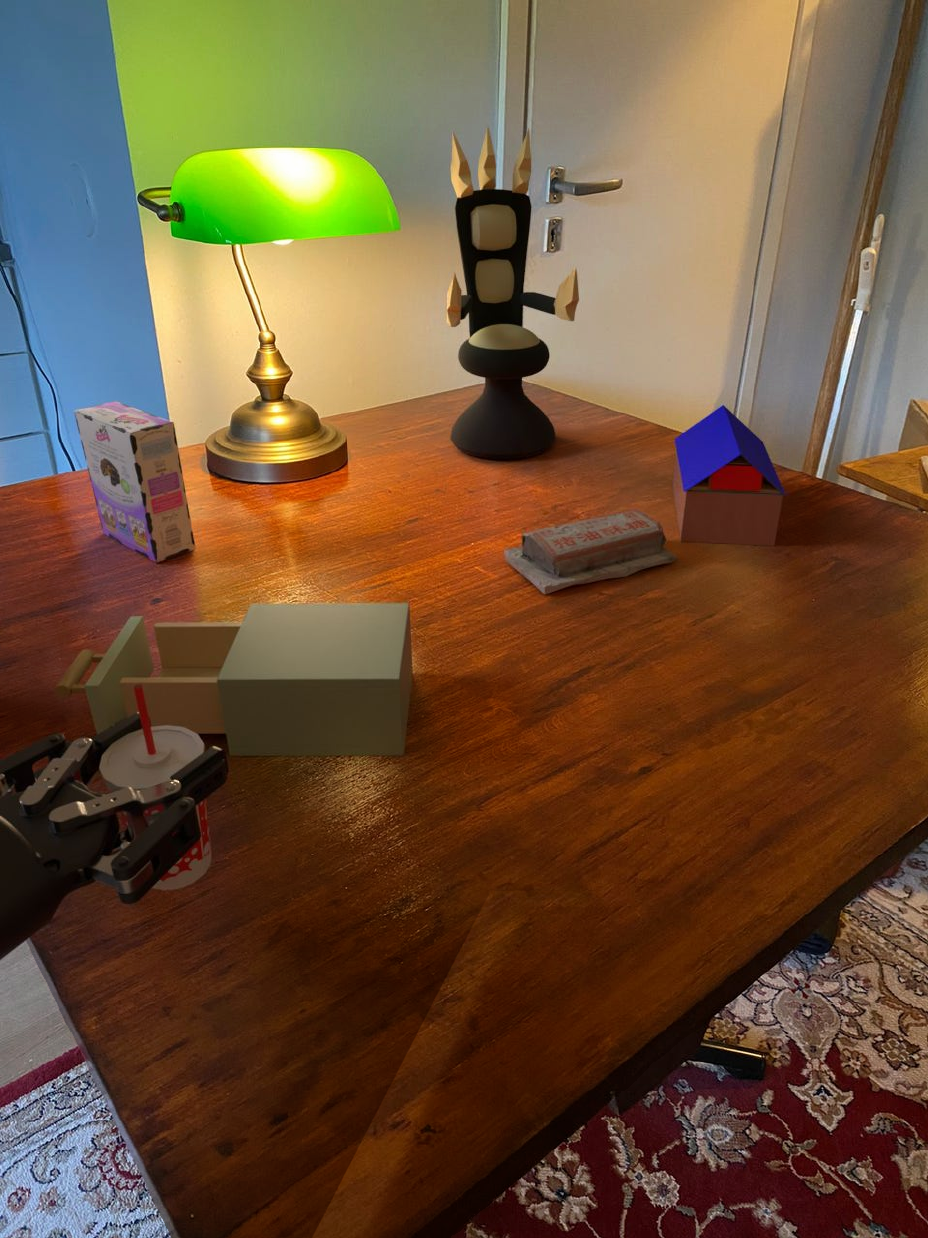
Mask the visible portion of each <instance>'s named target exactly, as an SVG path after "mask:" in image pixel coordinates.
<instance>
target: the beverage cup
mask: <svg viewBox="0 0 928 1238" xmlns="http://www.w3.org/2000/svg"><path fill="white" fill-rule="evenodd" d="M134 692H135V696H136V701H137V706H138V710H139V715H140V720H141V724H142V729H141V730H138V731H135V732H132V733H129V734H127V735H125V736H124V737H122V738H120V739H119V740H117V741H116V742H114V743H113V744H111V746H110V747H109V748H108V749H107V750H106V751H105V753H104V754H103V755H102V758H101V762H100V766H99V770H100V775H101V778H102V781H103V782H104V785H105V787H106V789H107V790H109V791H110V793H113V792H115V791H118V790H121V789H124V788H128V787H131V788H134V789H135V790H137V791H139V790H143V789H146V788H149V787H151V786H154V785H157V784H160V783H163V782H166V781H169V780H171V779H170V776H172V775H173V774H175V773H176V772H177V771H179V770H180V769H182V768H183V767H184V766H186V765H187V764H188V763H190V762H191V761H193V760H194V759H195V758H197V757H198V756H199V755H201V754H202V753H204V752H205V751H206V750H205V749H206V747H205V743H204V741H203V739H201V737H200V734H197V733H195V732H193V731H191V730H189V729H187V728H185V727H178V726H170V725H164V726H154V727H151V726H150V721H149V716H148V711H147V707H146V702H145V697H144V692H143V688H142V685H141V684H137V685H135V686H134ZM196 810H197V815H198V820H199V826H200V831H201V838H200V840H199V841H198V842H197V843H196V844H195V845H194V846H193V847H192V848H191V849H190V850H189V851H188V852H187V853H186V854H185V855H184V856H183V857H182V858H181V859H180V860H179V861H178V862H177V863H176V864H175V865H174V866H173V867H172V868H171V869H170V870H169V871H168V872H167V873H166V874H165V875H164V876H163V877H162V878H161V879H160V880H159V881H158V882H157V883H156V884H155V885H154V886H153V887H152V888H151V889H154V890H161V891H172V890H178V889H179V890H180V889H182V888H184V887H187V886H189V885H192V884H194V883H195V882H197V881H198V880H199V879H201V878H202V877H203V876H204V875H205V874H206V873H207V871H208V869H209V867H210V866H211V863H212V845H211V835H210V827H209V818H208V817H209V815H208V805H207V798H205V799H204V800H203V801H202V802H200V803H199V804H198V805H196ZM160 811H163V805H162V804H159V805H156V806H154V807H151V808H148V809H146V810H145V811H144V813H143V816H144V817H146V816H149V815H152V814H155V813H158V812H160ZM118 815H119V819H120V822H121V824H122V827H123V831H124V830H126V829H127V827H128V825H129V823H128V818H127V814H126V812H118ZM175 833H176V832H175ZM175 833H174V834H175ZM174 834H173V835H174Z"/></svg>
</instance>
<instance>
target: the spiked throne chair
mask: <svg viewBox="0 0 928 1238" xmlns="http://www.w3.org/2000/svg"><path fill="white" fill-rule="evenodd" d="M451 145H452V146H451V161H450V167H449V168H450V179H451V185H452V186H453V190H454V192H455V195H456V197H457V198H456V201H455V205H454V214H455V215H454V216H455V223H456V225H455V226H456V233H457V240H458V245H459V253H460V258H461V265H462V272H463V277H464V283H465V290H466V294H463V293H462V292H463V291H462V288H461V287H460V284H459V281H458V278H457V275H456V273H453V278H452V279H451V282H450V284H449V286H448V288H447V295H446V296H447V297H446V298H447V299H446V301H447V302H446V324H447V325H448V326H449V327H451V328H456V327H458V326H460V324H461V321H462V320H465V319H466V318H467V316H468V332H469V338H467V339H466V340H465V341H463V343H462V344H461V345H460V346H459V349H458V353H457V354H458V356H457V358H458V362H459V364H460V366H461V367H462V369H463V370H464V371H466V373H469V374H471V375H473V376H475V377H478V378H479V377H480V378H484V388H483V390H482V394H480V396H479V397H478V398H477V399H475V401H474V402H473V403H471V404H470V405H469V406H468V407H467V408H466V409H465V410H463V412H461V414H460V415H459V416H458V417H457V419H456V420H455V422H454V423H453V425H452V426H451V432H450V437H449V438H450V441H451V443H452V444H453V445H454V446H455V447H456V449H457V450H459V451H461V452H463V453H464V454H466V455H470V456H474V457H477V458H483V459H488V460H489V459H490V460H513V459H524V458H528V457H534V456H537V455H539V454H541V453H544V452H546V451H547V450H548V449H549V448H550V447H552V445H553V444H554V442H555V441H556V439H557V437H556V430H555V426H554V424H553V423H552V421H551V420H550V418H549V417H548V415H547V414H546V413H545V412H544V411H543V410H542V409H541V408H540V407H539V406H538V405H536V404H535V403H534V402H533V401H532V400H531V399H530V398H529V397H528V396H527V394H526V393H525V391H524V387H523V378H527V377H531V376H534V375H537V374H538V373H540V372H542V371H543V370H544V369H545V368H546V367H547V366H548V363H549V361H550V349H549V347H548V344H546V342H544V341H543V340H542V339H541V338H540V337H538V336H537V335H536V333H534V332H533V331H531V330H530V329H528V328H525V327H524V324H523V323H524V307H527V308H530V309H532V310H535V311H539V312H542V313H545V314H550V315H553V316H556V317H557V318H559V319H560V320H564V321H567V322H575V317H576V310H577V306H578V304H579V301H580V294H579V279H578V271H577V267H575V268H574V269H572V271H571V273H570V274H568V275H567V276H566V277H565V278H564V279H563V280H562V282H561V283H560V284H559V285H558V288H557V290H556V291H557V292H556V295H555V297H553V296H550V295H547V294H543V293H539V292H535V291H526V292H525V278H526V269H527V268H526V267H527V258H528V257H527V256H528V255H527V254H528V247H529V239H530V231H531V219H532V207H533V206H532V202H531V198H530V195H528V191H529V189H530V187H529V186H530V179H531V176H532V175H531V174H532V149H531V148H532V147H531V134H530V127H527V131H526V135H525V137H524V139H523V142H522V144H521V146H520V149H519V151H518V153H517V157H516V159H515V161H514V167H513V173H512V185H511V186H512V188H511V189H500V188H496V186H497V182H496V180H497V179H496V177H497V163H496V155H495V150H494V146H493V145H494V144H493V141H492V136H491V132H490V128H489V125H488V124H487V126H486V132H485V136H484V139H483V144H482V147H481V151H480V155H479V158H478V169H477V177H478V184H479V185H478V186H479V189H476V190H474V186H473V180H472V173H471V169H470V165H469V162H468V159H467V157H466V155H465V153H464V151H463V149H462V147H461V144H460V142H459V140H458V138H457V136H456V135H455V133H454V132H452V143H451Z"/></svg>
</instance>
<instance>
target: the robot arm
mask: <svg viewBox="0 0 928 1238" xmlns="http://www.w3.org/2000/svg"><path fill="white" fill-rule="evenodd" d="M149 721H150V718H149ZM150 726H151V722H150ZM141 729H142V724H141V720H140V715H139V712H136V713H135V714H133V715H131V716H130V717H127V718H124V719H122V720H120V721H118V722H117V723H115V724H114V725H112V726H110V727H109V728H107V729H106V730H104V731H102V732H101V733H99V734H98V735H97V734H96V735H95V736H93V737H92V738H89V737H80V738H77V739H75V740H73V741H68V740H66V737H65V735H64V734H62V733H51V734H49V735H47V736H45V737H43V738H41V739H39V740H37V741H35V742H34V743H31V744H30V745H27V746H25V747H23V748H21V749H20V750H18V751H15V752H13V753H12V754H9V755H8V756H6V757H3V758H2V759H0V961H1V960H3V959H4V958H6V957H7V956H8V955H9V954H10V953H12V952H13V951H14V950H16V949H17V948H18V947H20V946H21V945H22V944H23V943H25V942H26V941H27V940H29V939H30V938H31V937H32V936H34V935H36V933H37V932H39V931H41V929H43V928H44V927H45V926H46V925H48V924H49V923H50V922H51V921H52V920H53V918H54V916H55V914H56V912H57V910H58V908H59V907H60V905H61V903H62V902H63V900H64V899H65V898H66V897H67V896H68V895H69V894H71V893H73V892H74V891H77V890H78V889H81V888H84V887H87V886H90V885H91V884H94V883H95V882H98V883H101V884H103V885H106V886H108V887H111V888H113V889H116V890H117V894H118V897H119V901H120V903H122V904H124V905H132V904H136V903H137V902H139V901H140V900H142V899H143V898H144V896H145V895H146V894H147V893H148V892H149V891H151V889H153V888H152V887H153V886H154V885H155V884H156V883H157V882H158V881H159V880H160V879H161V878H162V877H163V876H164V875H165V874H166V873H167V872H168V871H169V870H170V869H171V868H172V867H173V866H174V865H175V864H176V863H177V862H178V861H179V860H180V859H181V858H182V857H183V856H184V855H185V854H186V853H187V852H188V851H189V850H190V849H191V848H192V847H193V846H194V845H195V844H196V843H197V842H198V841H199V840H200V838H201V831H200V826H199V820H198V815H197V810H196V805H198V804H199V803H200V802H202V801H203V800H204V799H205V798H206V799H207V798H208V797H210V796H211V795H212V793H215V792H216V791H217V790H219V789H220V788H221V787H222V786H223V785H225V784H226V782H227V780H228V775H229V770H230V769H229V764H228V757H227V752H226V750H224V749H222V748H220V747H218V746H215V745H213V746H210V747H209V748H208V749H206V750H204V753H202V754H201V755H199V756H198V757H197V758H195V759H194V760H193V761H191V762H190V763H188V764H187V765H186V766H184V767H183V768H182V769H180V770H179V771H177V772H176V773H175V774H173V775H172V776H170V779H171V780H169V781H166V782H163V783H160V784H157V785H154V786H151V787H149V788H146V789H143V790H139V791H137V790H135V789H134V788H131V787H128V788H124V789H121V790H118V791H115V792H113V793H112V792H110V793H106V794H104V793H101V792H96V791H91V788H92V786H93V785H94V783H95V782H96V781H97V779H98V778H99V777H100V775H101V772H100V769H99V766H100V762H101V758H102V755H103V754H104V753H105V751H106V750H107V749H108V748H109V747H110V746H111V744H113V743H114V742H116V741H117V740H119V739H120V738H122V737H124V736H125V735H127V734H129V733H132V732H135V731H138V730H141ZM45 758H47V759H48V763H49V764H47V765H45V766H43V767H42V768H40V769H38V770H35V771H34V770H33V766H34V765H35V764H36V763H37V762H39V761H41V760H43V759H45ZM159 804H162V805H163V811H160V812H158V813H155V814H152V815H149V816H146V817H144V816H143V813H144V811H145V810H146V809H148V808H151V807H154V806H156V805H159ZM119 812H126V814H127V818H128V823H129V825H128V827H127V829H126V830H124V829H123V831H121V832H120V821H119V818H118V814H119ZM175 832H176V833H175ZM174 833H175V834H174ZM173 834H174V835H173Z"/></svg>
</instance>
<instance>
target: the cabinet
mask: <svg viewBox="0 0 928 1238" xmlns="http://www.w3.org/2000/svg"><path fill="white" fill-rule="evenodd" d="M410 609H411V608H410V602H306V603H304V602H300V603H299V602H298V603H295V602H294V603H292V602H291V603H290V602H289V603H280V602H279V603H250V604H249V605H248V609H247V610H246V613H245V616H244V617H243V620H242V621H241V622H242V624H241V626H240V629H239V631H238V633H237V635H236V638H235V640H234V642H233V644H232V647H231V649H230V651H229V653H228V656H227V658H226V660H225V662H224V665H223V667H222V669H221V671H220V674H219V676H218V678H217V684H218V690H219V696H220V702H221V707H222V713H223V719H224V724H225V730H226V734H225V736H226V741H227V747H228V754H229V757H311V756H312V757H333V756H334V757H338V756H339V757H341V756H342V757H345V756H346V757H347V756H348V757H351V756H355V757H359V756H360V757H361V756H364V757H365V756H366V757H368V756H369V757H370V756H371V757H376V756H377V757H378V756H379V757H380V756H385V757H386V756H389V757H391V756H392V757H393V756H396V757H397V756H400V757H401V756H404V755H405V748H406V747H405V746H406V738H407V730H408V729H407V728H408V719H409V712H410V711H409V710H410V703H411V702H410V701H411V693H412V683H413V674H414V670H413V668H414V667H413V650H412V649H413V648H412V630H411V629H412V628H411V627H412V625H411V610H410Z"/></svg>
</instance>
